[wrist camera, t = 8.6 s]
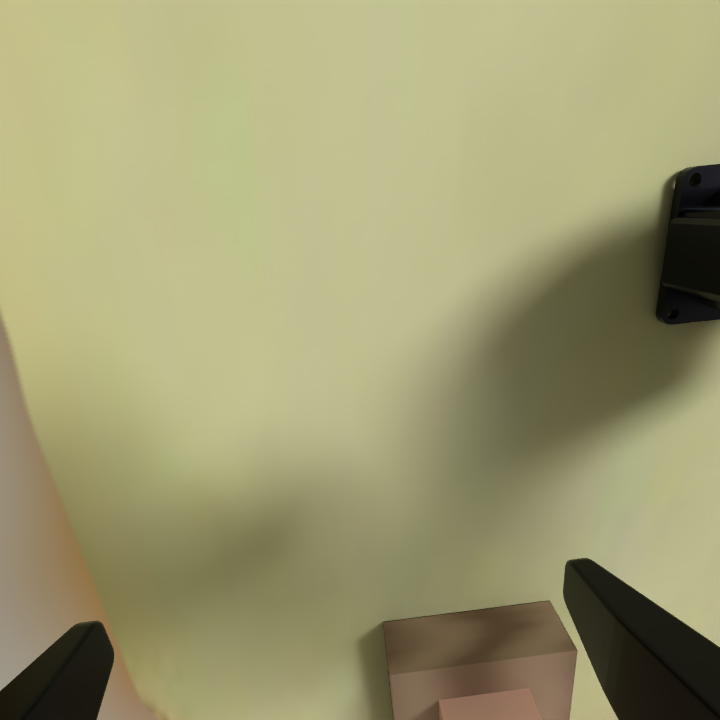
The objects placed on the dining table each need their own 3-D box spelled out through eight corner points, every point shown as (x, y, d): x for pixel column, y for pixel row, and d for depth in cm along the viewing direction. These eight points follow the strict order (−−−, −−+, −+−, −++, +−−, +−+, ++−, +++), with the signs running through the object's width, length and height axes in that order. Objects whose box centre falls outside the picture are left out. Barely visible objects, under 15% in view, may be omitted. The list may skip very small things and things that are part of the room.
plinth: (550, 600, 25) (577, 650, 22) (541, 710, 29) (564, 764, 26) (383, 622, 25) (389, 675, 22) (394, 730, 28) (401, 787, 26)
